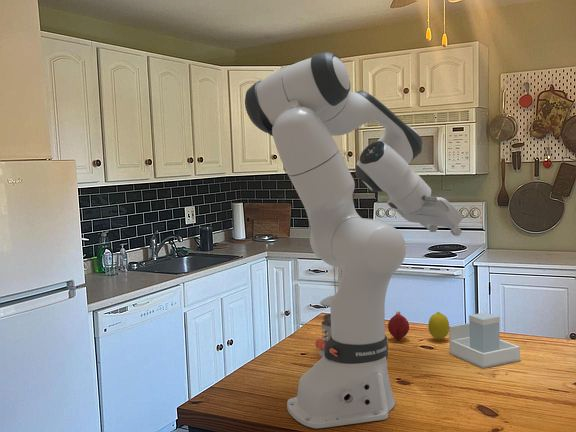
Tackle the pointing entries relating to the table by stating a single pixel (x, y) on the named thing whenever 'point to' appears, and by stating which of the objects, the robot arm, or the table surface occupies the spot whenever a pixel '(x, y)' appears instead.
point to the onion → (398, 326)
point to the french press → (327, 319)
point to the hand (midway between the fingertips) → (446, 232)
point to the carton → (484, 332)
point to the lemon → (438, 326)
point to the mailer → (461, 349)
